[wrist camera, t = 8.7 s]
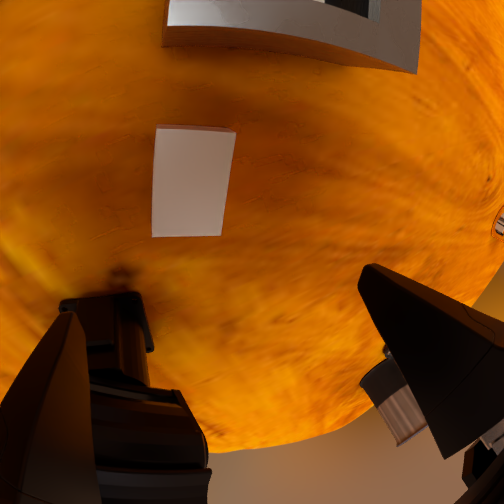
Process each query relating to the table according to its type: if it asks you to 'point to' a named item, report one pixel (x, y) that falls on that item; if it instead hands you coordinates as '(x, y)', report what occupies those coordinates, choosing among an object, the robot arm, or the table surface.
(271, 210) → the table surface
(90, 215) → the table surface
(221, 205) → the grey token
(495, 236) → the beer glass
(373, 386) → the milk frother
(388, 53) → the grey hollow block
